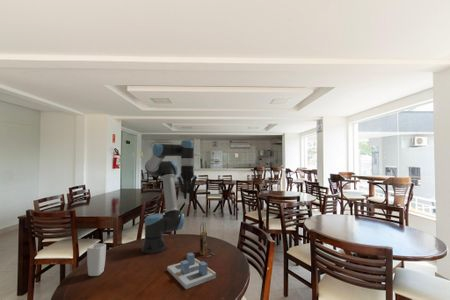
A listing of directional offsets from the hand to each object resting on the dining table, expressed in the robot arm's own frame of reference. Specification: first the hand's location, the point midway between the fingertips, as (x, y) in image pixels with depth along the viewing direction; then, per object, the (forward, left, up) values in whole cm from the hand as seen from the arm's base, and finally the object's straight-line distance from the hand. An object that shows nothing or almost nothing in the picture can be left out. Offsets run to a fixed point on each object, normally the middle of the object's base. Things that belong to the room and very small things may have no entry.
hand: (186, 203), depth 137 cm
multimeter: (-2, +17, -35) cm, 39 cm away
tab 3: (+22, -1, -32) cm, 39 cm away
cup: (-15, -46, -35) cm, 59 cm away
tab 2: (+8, -1, -32) cm, 33 cm away
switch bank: (+15, -5, -34) cm, 38 cm away
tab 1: (+15, -9, -32) cm, 37 cm away
